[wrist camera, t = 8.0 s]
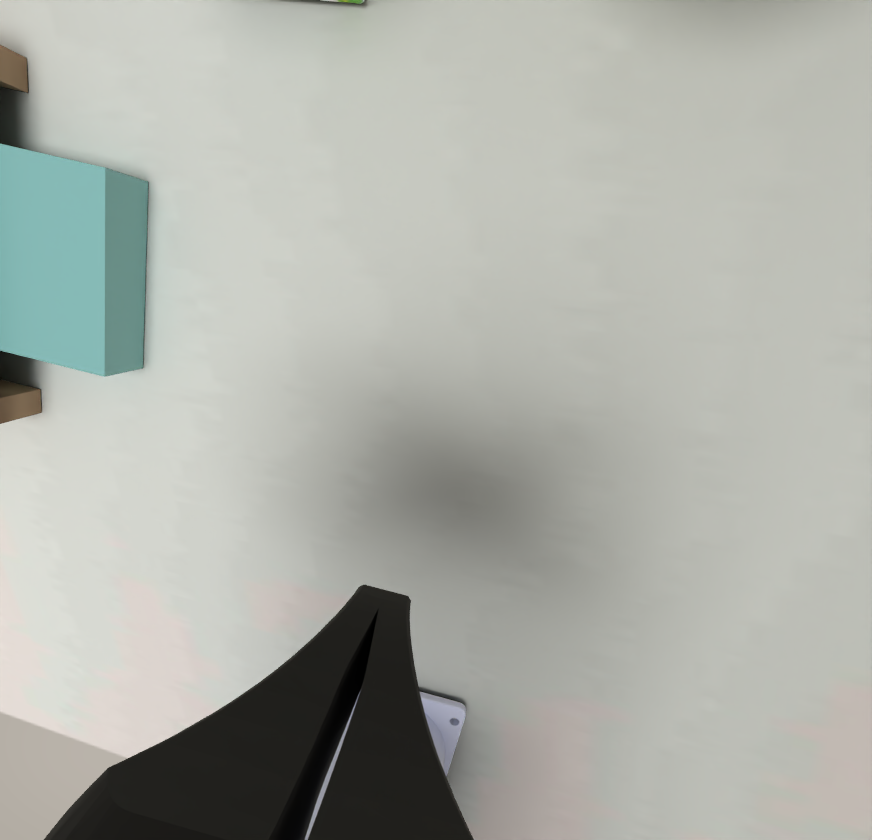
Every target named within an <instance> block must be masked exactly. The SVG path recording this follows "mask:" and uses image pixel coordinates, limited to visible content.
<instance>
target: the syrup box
mask: <svg viewBox="0 0 872 840" xmlns="http://www.w3.org/2000/svg"><path fill="white" fill-rule="evenodd" d="M322 1H335V2H347V3H357V4H361V3H363V2H364V1H365V0H322Z"/></svg>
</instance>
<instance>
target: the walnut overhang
mask: <svg viewBox="0 0 872 840" xmlns="http://www.w3.org/2000/svg"><path fill="white" fill-rule="evenodd" d="M0 87H4V88H9V89H13V90H18V91H22V92H27V93H28V83H27V60H26V58H25V57H23V56H21V55H19V54H17V53H15V52H13V51H11V50H9V49H8V48H6V47H4V46H2V45H0ZM38 413H41V390H40V389H37V388H33V387H29V386H25V385H21V384H17V383H13V382H9V381H5V380H1V379H0V424H1V423H5V422H9V421H12V420H16V419H20V418H23V417H27V416H31V415H34V414H38Z"/></svg>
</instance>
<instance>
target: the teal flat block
mask: <svg viewBox="0 0 872 840" xmlns="http://www.w3.org/2000/svg"><path fill="white" fill-rule="evenodd" d="M147 208H148V182H147V181H144V180H141V179H138V178H135V177H132V176H129V175H126V174H123V173H120V172H117V171H113V170H110V169H107V168H104V167H100V166H95V165H91V164H87V163H82V162H78V161H74V160H69V159H65V158H60V157H56V156H52V155H47V154H43V153H39V152H34V151H30V150H26V149H21V148H17V147H13V146H8V145H4V144H0V351H4V352H8V353H12V354H16V355H20V356H24V357H28V358H32V359H36V360H40V361H44V362H48V363H52V364H56V365H60V366H64V367H68V368H72V369H76V370H80V371H84V372H88V373H92V374H96V375H100V376H104V377H105V376H110V375H114V374H119V373H123V372H128V371H132V370H137V369H141V368H143V346H144V311H145V277H146V242H147Z"/></svg>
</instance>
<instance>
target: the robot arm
mask: <svg viewBox="0 0 872 840" xmlns="http://www.w3.org/2000/svg"><path fill="white" fill-rule="evenodd" d="M410 603H411V600H410V599H409V597H408V596H406V595H402V594H398V593H394V592H390V591H387V590H383V589H379V588H375V587H371V586H367V585H362V586H360V587H359V588H358V589H357V591H356V592H355V593H354V595H353V596H352V597H351V599H350V600H349V601H348V602H347V603H346V604H345V606H344V607H343V608H342V609H341V610H340V611H339V612H338V613H337V614H336V616H335V617H334V618H333V619H332V620H331V621H330V622H329V623H328V624H327V625H326V626H325V627H324V628H323V629H322V630H321V631H320V632H319V633H318V634H317V635H316V636H315V637H314V638H313V639H311V640H310V641H309V642H308V643H307V644H306V645H305V646H304V647H302V648H301V649H300V650H299V651H298V652H297V653H296V654H295V655H294V656H292V657H291V658H290V659H289V660H288V661H286V662H285V663H284V664H283V665H282V666H280V667H279V668H278V669H276V670H275V671H274V672H273V673H271V674H270V675H269V676H267V677H266V678H265V679H263V680H262V681H261V682H259V683H258V684H257V685H255V686H254V687H252V688H251V689H249V690H248V691H246V692H245V693H243V694H242V695H241V696H239V697H238V698H236V699H235V700H233V701H232V702H230V703H229V704H227V705H226V706H224V707H222V708H221V709H219V710H218V711H216V712H214V713H213V714H211V715H209V716H207V717H206V718H204V719H202V720H200V721H199V722H197V723H195V724H193V725H192V726H190V727H188V728H187V729H185V730H183V731H181V732H180V733H178V734H176V735H174V736H172V737H170V738H169V739H167V740H165V741H163V742H161V743H159V744H157V745H155V746H153V747H150V748H148V749H146V750H144V751H142V752H140V753H138V754H136V755H134V756H132V757H130V758H128V759H126V760H124V761H122V762H120V763H118V764H116V765H113V766H111V767H109V768H108V769H107V770H106V771H105V772H104V773H103V774H102V775H101V776H100V777H99V778H98V779H97V780H96V781H95V782H94V783H93V784H92V785H91V786H90V787H89V788H88V789H87V790H86V791H85V792H84V794H82V795H81V796H80V798H79V799H78V800H77V801H76V802H75V803H74V804H73V805H72V806H71V807H70V808H69V809H68V811H67V812H66V813H65V814H64V815H63V817H62V818H61V819H60V820H59V821H58V823H57V824H56V825H55V826H54V828H53V829H52V830H51V831H50V833H49V834H48V835H47V836H46V838H45V839H44V840H474V839H473V837H472V835H471V833H470V831H469V829H468V827H467V825H466V822H465V820H464V818H463V816H462V813H461V811H460V809H459V807H458V805H457V802H456V800H455V798H454V795H453V793H452V790H451V788H450V785H449V783H448V780H447V774H448V771H449V768H450V764H451V761H452V758H453V755H454V752H455V749H456V746H457V742H458V739H459V736H460V733H461V730H462V727H463V724H464V720H465V717H466V707H465V706H464V705H463V704H462V703H460V702H457V701H453V700H450V699H446V698H442V697H438V696H435V695H431V694H427V693H424V692H420V691H419V687H418V682H417V677H416V672H415V666H414V660H413V653H412V646H411V636H410ZM453 718H456V719H453Z"/></svg>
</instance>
